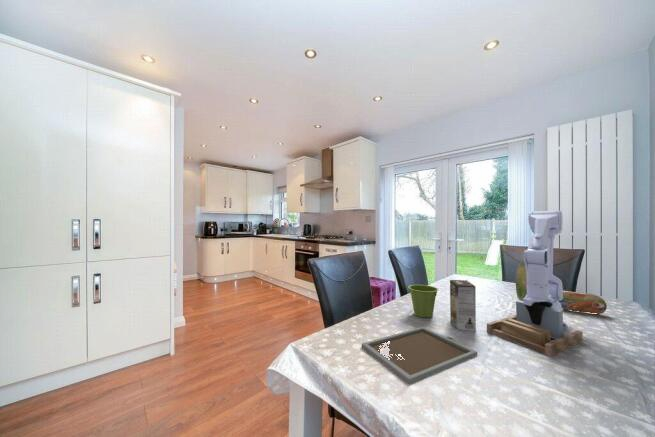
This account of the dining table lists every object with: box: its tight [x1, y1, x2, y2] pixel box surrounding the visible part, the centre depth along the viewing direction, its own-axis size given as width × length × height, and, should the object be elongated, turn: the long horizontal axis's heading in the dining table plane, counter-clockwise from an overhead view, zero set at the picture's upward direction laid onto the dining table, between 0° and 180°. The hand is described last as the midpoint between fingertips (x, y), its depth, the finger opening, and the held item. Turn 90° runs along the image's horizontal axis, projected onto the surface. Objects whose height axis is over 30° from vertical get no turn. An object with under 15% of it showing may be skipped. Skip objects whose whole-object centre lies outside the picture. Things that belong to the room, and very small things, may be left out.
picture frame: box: [361, 326, 478, 385], centre depth 71 cm, size 19×2×30 cm
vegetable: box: [515, 260, 527, 301], centre depth 115 cm, size 6×6×20 cm
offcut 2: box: [507, 319, 551, 344], centre depth 79 cm, size 2×11×4 cm, turn 26°
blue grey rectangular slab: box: [515, 299, 564, 340], centre depth 82 cm, size 2×12×9 cm, turn 26°
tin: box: [559, 291, 608, 315], centre depth 103 cm, size 15×3×8 cm, turn 58°
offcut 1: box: [501, 321, 545, 347], centre depth 77 cm, size 2×11×4 cm, turn 25°
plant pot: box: [407, 284, 439, 318], centre depth 99 cm, size 12×12×11 cm
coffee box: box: [449, 279, 477, 332], centre depth 89 cm, size 9×6×16 cm
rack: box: [486, 314, 584, 357], centre depth 80 cm, size 22×17×3 cm
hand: (538, 323), depth 82 cm, fingers closed on blue grey rectangular slab, 2 cm apart
